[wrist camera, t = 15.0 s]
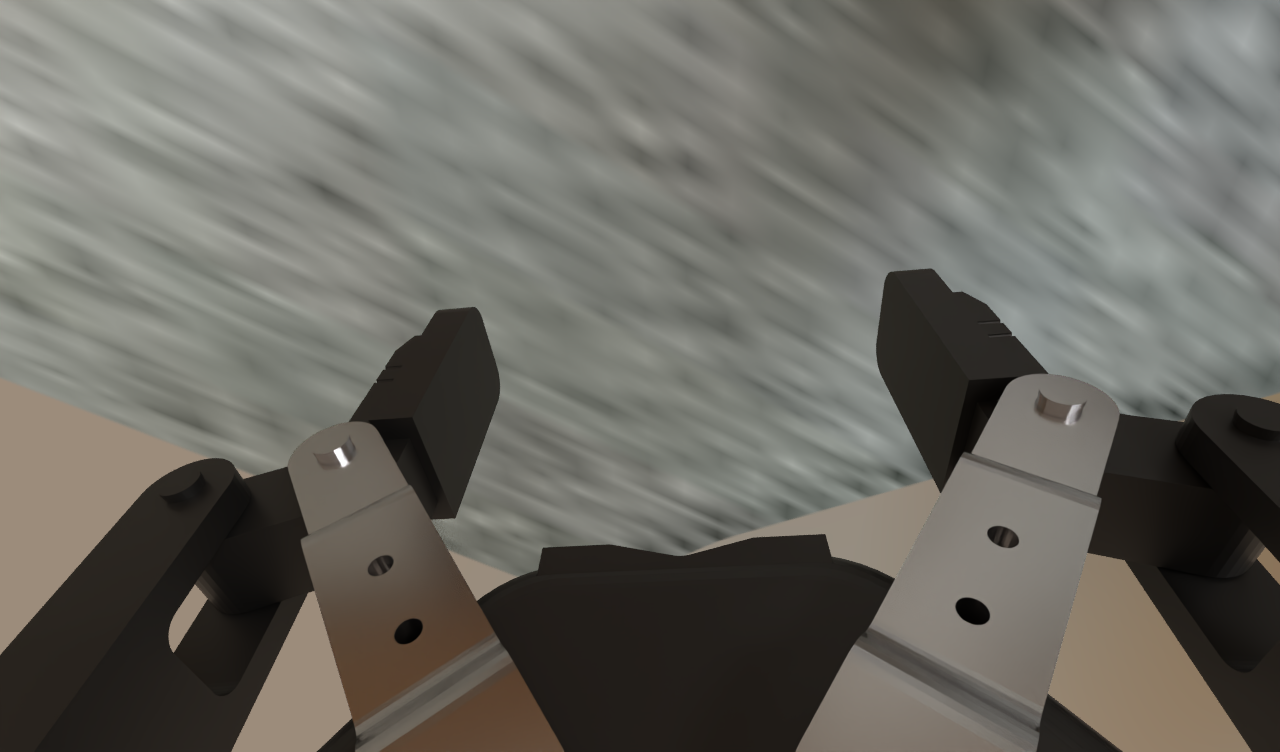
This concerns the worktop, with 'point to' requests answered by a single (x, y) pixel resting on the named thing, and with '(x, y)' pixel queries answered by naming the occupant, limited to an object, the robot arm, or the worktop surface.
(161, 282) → the worktop surface
